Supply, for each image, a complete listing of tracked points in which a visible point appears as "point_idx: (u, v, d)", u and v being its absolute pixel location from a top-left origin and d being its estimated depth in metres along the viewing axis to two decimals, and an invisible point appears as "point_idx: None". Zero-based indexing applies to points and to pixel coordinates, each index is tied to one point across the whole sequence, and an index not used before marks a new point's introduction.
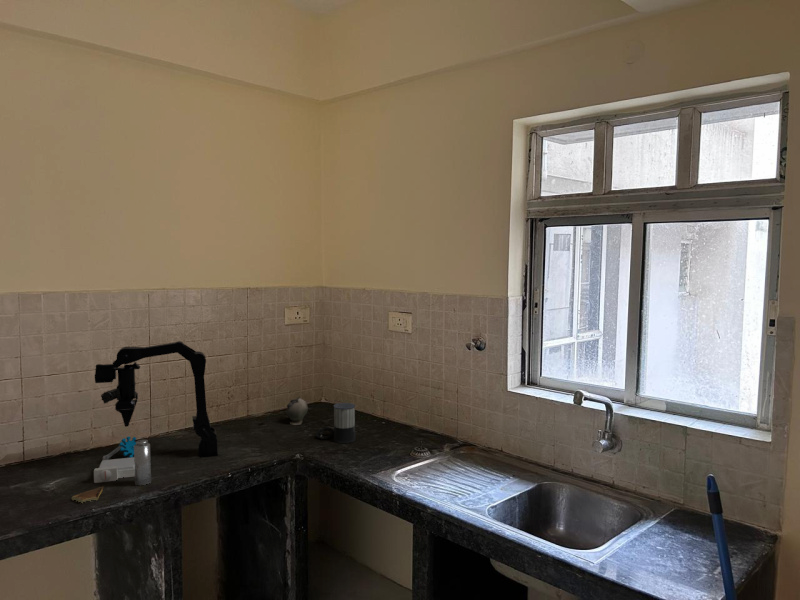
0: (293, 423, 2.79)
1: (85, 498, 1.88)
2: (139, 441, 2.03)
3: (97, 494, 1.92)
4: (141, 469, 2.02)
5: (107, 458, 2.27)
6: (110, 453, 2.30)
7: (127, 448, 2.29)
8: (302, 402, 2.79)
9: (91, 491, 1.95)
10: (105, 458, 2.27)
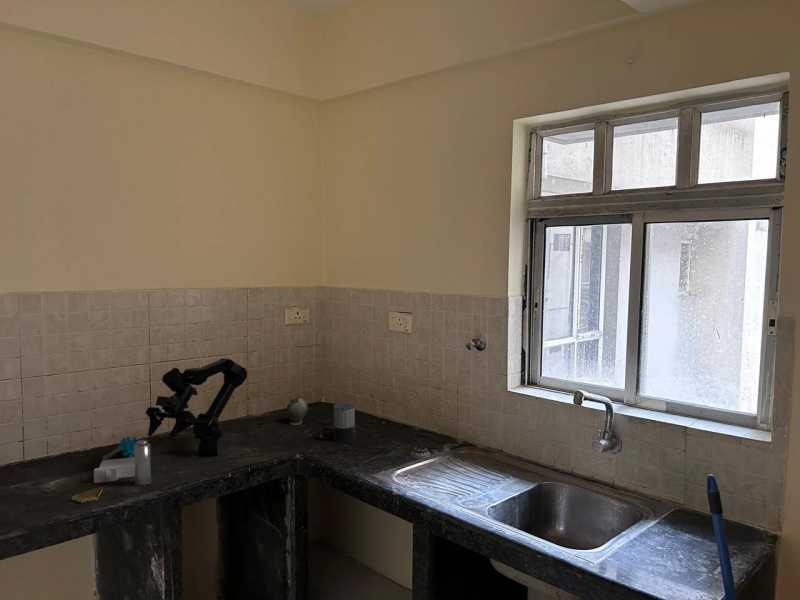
0: (293, 423, 2.79)
1: (85, 498, 1.88)
2: (139, 441, 2.03)
3: (97, 494, 1.92)
4: (141, 469, 2.02)
5: (107, 458, 2.27)
6: (110, 453, 2.30)
7: (127, 448, 2.29)
8: (302, 402, 2.79)
9: (91, 491, 1.95)
10: (105, 458, 2.27)
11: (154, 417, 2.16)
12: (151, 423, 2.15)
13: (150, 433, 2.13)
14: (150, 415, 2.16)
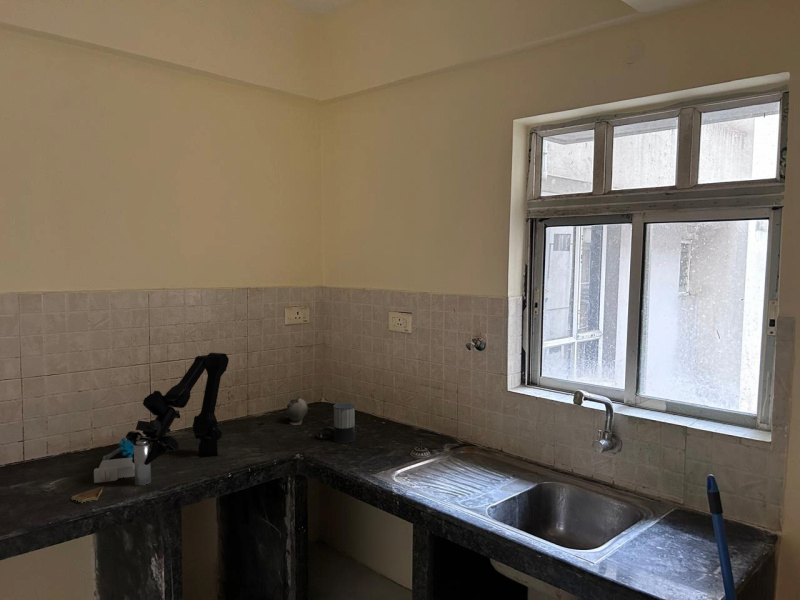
0: (293, 423, 2.79)
1: (85, 498, 1.88)
2: (139, 441, 2.03)
3: (97, 494, 1.92)
4: (141, 469, 2.02)
5: (108, 458, 2.27)
6: (111, 453, 2.30)
7: (126, 448, 2.29)
8: (302, 402, 2.79)
9: (91, 491, 1.95)
10: (106, 458, 2.27)
11: None
12: None
13: None
14: (134, 440, 2.07)
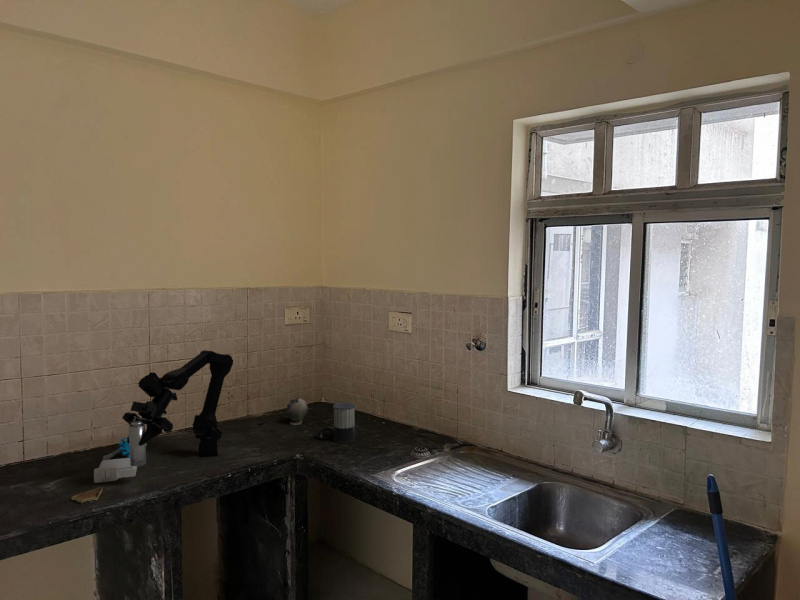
0: (293, 423, 2.79)
1: (85, 498, 1.88)
2: (134, 422, 2.04)
3: (97, 494, 1.92)
4: (136, 449, 2.02)
5: (108, 458, 2.27)
6: (112, 453, 2.30)
7: (126, 448, 2.30)
8: (302, 402, 2.79)
9: (91, 491, 1.95)
10: (106, 458, 2.27)
11: None
12: None
13: None
14: (130, 421, 2.07)
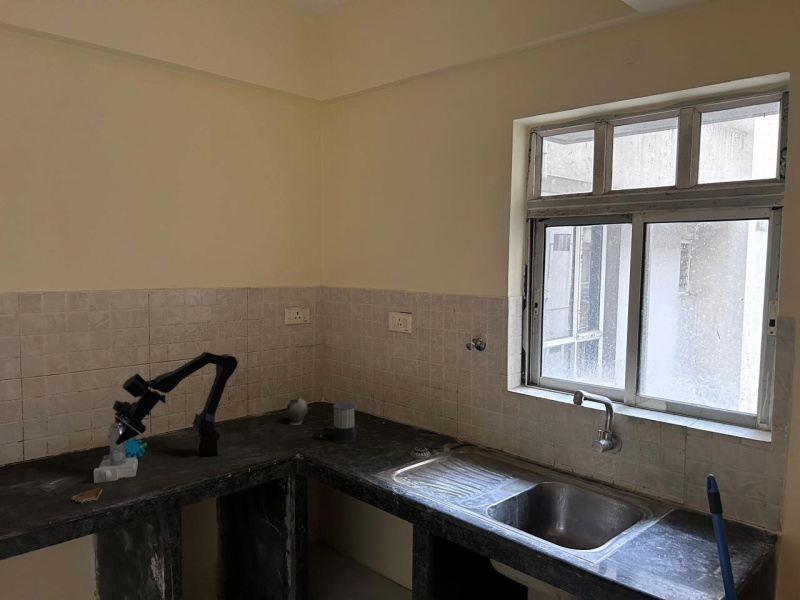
0: (293, 423, 2.79)
1: (85, 498, 1.88)
2: (114, 423, 2.14)
3: (97, 494, 1.92)
4: (113, 449, 2.12)
5: (108, 458, 2.27)
6: None
7: (126, 447, 2.30)
8: (302, 402, 2.79)
9: (90, 491, 1.95)
10: (106, 458, 2.27)
11: (118, 420, 2.19)
12: None
13: None
14: (115, 418, 2.19)
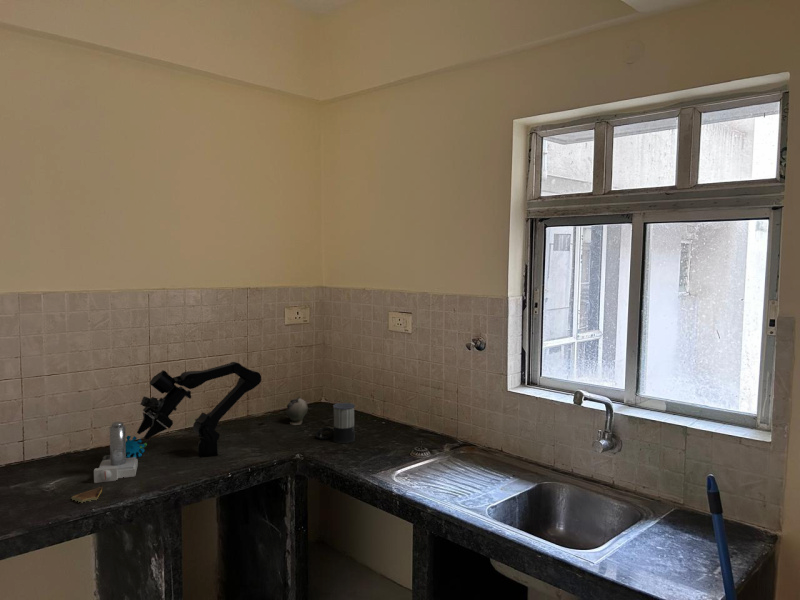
0: (293, 423, 2.79)
1: (85, 498, 1.88)
2: (115, 423, 2.14)
3: (97, 494, 1.92)
4: (113, 449, 2.12)
5: (108, 458, 2.27)
6: None
7: None
8: (302, 402, 2.79)
9: (90, 491, 1.95)
10: (106, 458, 2.27)
11: (146, 416, 2.25)
12: (142, 421, 2.25)
13: (139, 431, 2.23)
14: (143, 414, 2.26)
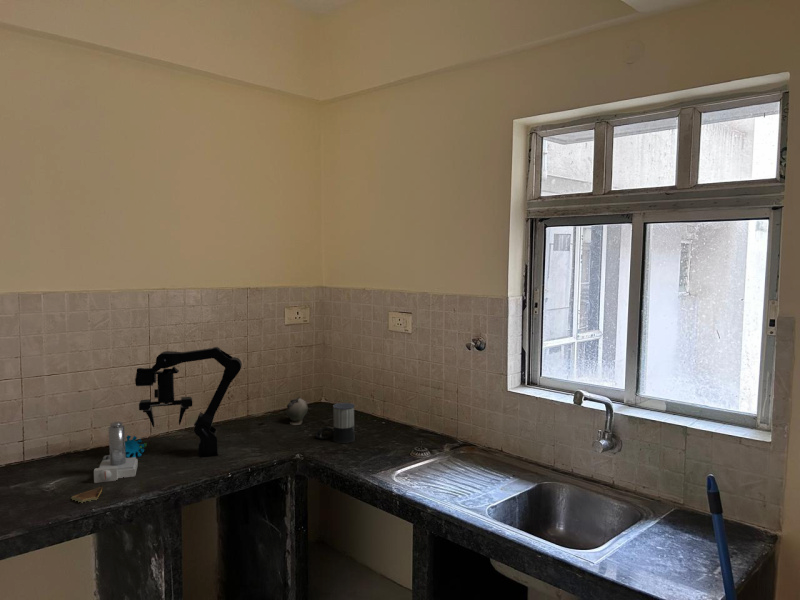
0: (293, 423, 2.79)
1: (85, 498, 1.88)
2: (114, 423, 2.14)
3: (97, 494, 1.92)
4: (112, 449, 2.12)
5: (109, 458, 2.27)
6: None
7: (125, 447, 2.30)
8: (302, 402, 2.79)
9: (90, 491, 1.95)
10: (107, 458, 2.27)
11: (180, 407, 2.34)
12: None
13: None
14: None
